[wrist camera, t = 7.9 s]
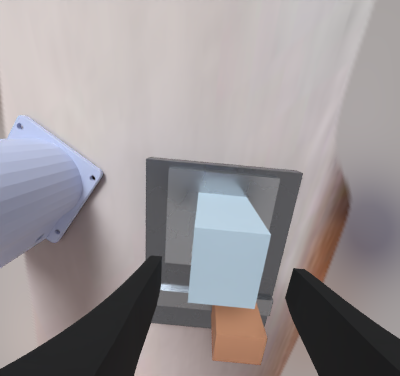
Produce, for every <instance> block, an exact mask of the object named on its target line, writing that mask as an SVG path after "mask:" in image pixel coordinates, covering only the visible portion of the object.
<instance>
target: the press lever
mask: <svg viewBox="0 0 400 376" xmlns="http://www.w3.org/2000/svg"><path fill="white" fill-rule="evenodd" d="M211 329H212V360H213V361H224V362H234V363H245V364H255V365H261V361H262V357H263V354H264V350H265V346H266V342H267V336H266V332H265V329H264V326H263V323H262V319H261V316H260V313H259V309H258V306H257V303H256V305H255V309H249V308H239V307H228V306H218V305H212V312H211Z"/></svg>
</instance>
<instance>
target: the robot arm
mask: <svg viewBox="0 0 400 376" xmlns="http://www.w3.org/2000/svg"><path fill="white" fill-rule="evenodd" d="M21 124H22V125H23V129H22V127H21ZM92 175H93V176H94V177H95V180H94V179H93V178H92ZM102 176H103V172H102V170H101V169H100V168H98V167H97V166H95V165H94V164H93V163H91V162H90V161H89V160H87V159H86V158H84V157H83V156H82V155H80V154H79V153H78V152H76V151H75V150H73V149H72V148H71V147H69V146H68V145H67V144H65V143H64V142H62V141H61V140H60V139H58V138H57V137H56V136H54V135H53V134H51V133H50V132H49V131H47V130H46V129H45V128H43V127H42V126H40V125H39V124H38V123H36V122H35V121H34V120H32V119H31V118H29V117H28V116H24V115H20V116H18V117H17V119H16V121H15V123H14V125H13V127H12V129H11V132H10V134H9V136H8V138H7V139H0V268H1V267H3V266H5V265H6V264H8V263H9V262H11V261H12V260H14V259H15V258H17V257H18V256H20V255H21V254H23V253H24V252H26V251H27V250H29V249H30V248H32V247H33V246H35V245H37V244H38V243H40V242H41V241H43V240H44V239H47V240H49V241H50V242H52V243H56V242H58V241H59V240H60V239H61V238H62V236H63V235H64V233H65V232H66V230H67V229H68V227H69V226H70V224H71V223H72V221H73V220H74V218H75V217H76V215H77V214H78V212H79V211H80V209H81V208H82V206H83V205H84V203H85V202H86V200H87V199H88V197H89V196H90V194H91V193H92V191H93V190H94V188H95V187H96V185H97V184H98V182H99V181H100V179H101V178H102ZM58 230H59V231H60V232H59V231H58ZM161 273H162V256H153V255H151V256H150V257H148V259H147V260H146V261H145V262H144V263H143V264H142V265H141V266H140V267H139V268H138V269H137V270H136V271H135V272H134V273H133V274H132V275H131V276H130V277H129V278H128V279H127V280H126V281H125V282H124V283H123V284H122V285H121V286H120V287H119V288H118V289H117V290H116V291H114V292H113V293H112V294H111V295H110V296H109V297H108V298H107V299H105V300H104V301H103V302H102V303H101V304H99V305H98V306H97V307H96V308H94V309H93V310H92V311H90V312H89V313H88V314H87V315H85V316H84V317H82V318H81V319H80V320H78V321H77V322H75V323H74V324H73V325H71V326H70V327H68V328H67V329H65V330H64V331H63V332H61V333H60V334H58V335H57V336H55V337H53V338H52V339H50V340H49V341H47V342H46V343H44V344H42V345H41V346H39V347H38V348H36V349H34V350H33V351H31V352H29V353H28V354H26V355H24V356H22V357H21V358H19V359H17V360H16V361H14V362H12V363H10V364H8V365H7V366H5V367H3V368H1V369H0V376H134V373H135V370H136V366H137V363H138V360H139V356H140V353H141V350H142V348H143V345H144V342H145V339H146V336H147V333H148V330H149V327H150V324H151V321H152V318H153V315H154V312H155V309H156V306H157V302H158V298H159V293H160V289H161ZM285 299H286V302H287V305H288V308H289V311H290V314H291V317H292V319H293V322H294V324H295V326H296V328H297V330H298V332H299V335H300V337H301V339H302V341H303V343H304V345H305V347H306V349H307V352H308V354H309V356H310V358H311V360H312V362H313V364H314V366H315V369H316V370H317V373H318V375H319V376H400V339H399V338H397V337H396V336H394V335H393V334H391V333H390V332H388V331H387V330H385V329H384V328H382V327H381V326H380V325H378V324H376V323H375V322H374V321H372V320H371V319H370V318H368V317H367V316H366V315H364V314H363V313H361V312H360V311H359V310H357V309H356V308H354V307H353V306H352V305H351V304H349V303H348V302H347V301H345V300H344V299H342V298H341V297H340V296H339V295H337V294H336V293H335V292H334V291H332V290H331V289H330V288H329V287H327V286H326V285H325V284H324V283H322V282H321V281H320V280H318V279H317V278H316V277H315V276H313V275H312V274H311V273H309V272H308V271H306V270H305V269H295V268H293V272H292V276H291V279H290V283H289V286H288V290H287V294H286V297H285Z"/></svg>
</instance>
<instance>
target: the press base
mask: <svg viewBox="0 0 400 376" xmlns="http://www.w3.org/2000/svg"><path fill="white" fill-rule="evenodd" d="M302 175H303V173H301V172H298V171H295V170H284V169H273V168H263V167H252V166H241V165H230V164H219V163H208V162H198V161H187V160H176V159H165V158H154V157H150V158H147V159H146V260H147V259H148V257H150V256H151V255H153V256H162V273H161V289H160V293H159V298H158V302H157V306H156V309H155V312H154V315H153V318H152V321H151V323H159V324H170V325H180V326H191V327H201V328H211V312H212V305H208V304H197V303H188V293H189V282H190V271H191V260H192V249H193V238H194V227H195V219H196V210H197V202H198V193H210V194H220V195H231V196H242V197H247V198H248V200H249V201H250V203H251V205H252V206H253V208H254V209H255V211H256V212H257V214H258V215H259V217H260V218H261V220H262V222H263V223H264V225H265V226H266V228H267V229H268V231H269V232H270V234H271V238H270V242H269V247H268V251H267V255H266V260H265V264H264V269H263V273H262V278H261V282H260V287H259V291H258V296H257V300H256V303H257V306H258V309H259V313H260V316H261V319H262V323H263V326H264V327H265V323H266V319H267V316H270V312H271V308H272V304H273V299H272V295H273V291H274V287H275V283H276V279H277V275H278V271H279V267H280V263H281V259H282V255H283V251H284V247H285V243H286V239H287V235H288V231H289V227H290V223H291V219H292V215H293V211H294V207H295V203H296V199H297V195H298V191H299V187H300V183H301V179H302Z"/></svg>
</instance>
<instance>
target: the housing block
mask: <svg viewBox="0 0 400 376" xmlns="http://www.w3.org/2000/svg"><path fill="white" fill-rule="evenodd" d="M270 238H271V234H270V232H269V231H268V229H267V228H266V226H265V225H264V223H263V222H262V220H261V218H260V217H259V215H258V214H257V212H256V211H255V209H254V208H253V206H252V205H251V203H250V201H249V200H248V198H247V197H242V196H231V195H220V194H210V193H198V202H197V210H196V219H195V227H194V238H193V249H192V260H191V271H190V282H189V293H188V303H197V304H208V305H218V306H228V307H239V308H249V309H255V305H256V300H257V296H258V291H259V287H260V282H261V278H262V273H263V269H264V264H265V260H266V255H267V251H268V247H269V242H270Z"/></svg>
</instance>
